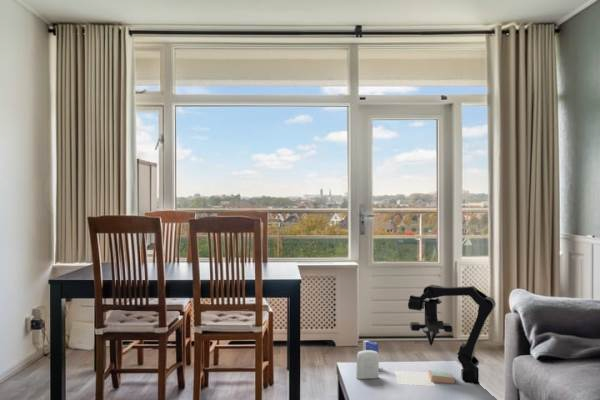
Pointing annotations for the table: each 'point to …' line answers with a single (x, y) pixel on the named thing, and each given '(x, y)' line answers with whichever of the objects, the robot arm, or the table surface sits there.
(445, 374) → the tile
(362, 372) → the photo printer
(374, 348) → the walkman
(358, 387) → the table surface
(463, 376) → the robot arm
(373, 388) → the table surface
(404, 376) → the mat
